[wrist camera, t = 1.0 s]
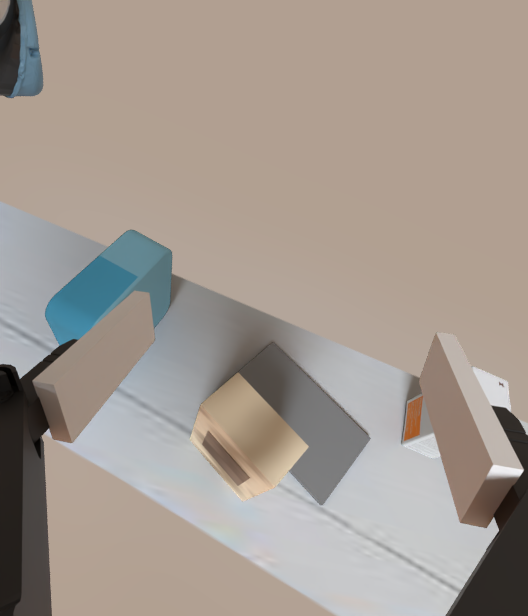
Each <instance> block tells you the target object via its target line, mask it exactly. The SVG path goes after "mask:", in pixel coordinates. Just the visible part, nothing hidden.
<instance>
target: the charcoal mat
mask: <svg viewBox="0 0 528 616" xmlns="http://www.w3.org/2000/svg"><path fill="white" fill-rule="evenodd" d="M237 373H239V374H240V375H241V376H242V377H243V378H244V379H245V380H246V381H247V382H248V383H249V384H250V385H251V386H252V387H253V388H254V389H255V390H256V391H257V393H258V394H259V395H260V396H261V397H262V398H263V399H264V400H265V401H266V402H267V403H268V404H269V405H270V406H271V407H272V408H273V409H274V410H275V411H276V412H277V414H278V415H279V416H280V417H281V418H282V419H283V420H284V421H285V422H286V423H287V424H288V425H289V426H290V427H291V428H292V429H293V430H294V431H295V432H296V433H297V435H298V436H299V437H300V438H301V439H302V440H303V441H304V442H305V443H306V444H307V445H308V446H309V447H308V449H307V450H306V451H305V452H304V453H303V455H302V456H301V457H300V458H299V459H298V461H297V462H296V463H295V464H294V465H293V467H292V468H291V469H290V470H289V472H290V473H291V474H292V475H293V476H294V477H295V478H296V479H297V480H298V481H299V482H300V484H301V485H302V486H303V487H304V488H305V489H306V490H307V491H308V492H309V493H310V494H311V496H312V497H313V498H314V499H315V500H316V501H317V502H318V503H319V504H320V505H323V504H324V503H325V501H326V500H327V498H328V497H329V496H330V494H331V493H332V491H333V490H334V489H335V487H336V486H337V485H338V483H339V482H340V480H341V479H342V478H343V476H344V475H345V473H346V472H347V471H348V469H349V468H350V467H351V465H352V464H353V462H354V461H355V460H356V458H357V457H358V455H359V454H360V453H361V451H362V450H363V448H364V447H365V446H366V444H367V443H368V442H369V440H370V439H371V438H370V437H369V436H368V435H367V434H366V433H365V432H364V431H363V430H362V429H361V428H360V427H359V426H358V425H357V424H356V423H355V422H354V421H353V420H352V419H351V418H350V417H349V416H348V415H347V414H346V413H345V412H344V411H342V410H341V409H340V408H339V407H338V406H337V405H336V404H335V403H334V402H333V401H332V400H331V399H330V398H329V397H328V396H327V395H326V394H325V393H324V392H323V391H322V390H321V389H320V388H319V387H318V386H317V385H316V384H315V383H314V382H313V381H312V380H311V379H310V378H309V377H308V376H307V375H306V374H305V373H304V372H303V371H302V370H301V369H300V368H299V367H298V366H297V365H296V364H295V363H294V362H293V361H292V360H291V359H290V358H289V357H288V356H287V355H286V354H285V353H284V352H283V351H282V350H281V349H280V348H279V347H278V346H277V345H276V344H275V343H274V342H272V343H271V344H270V345H269V346H268V347H266V348H265V349H264V350H263V351H262V352H261V353H259V354H258V355H257V356H256V357H255V358H254V359H252V360H251V361H250V362H249V363H248V364H247V365H245V366H244V367H243V368H242V369H241V370H240V371H238V372H237ZM231 378H232V377H231ZM231 378H230V379H231ZM230 379H229V380H230ZM224 384H225V383H224ZM224 384H223V385H224ZM223 385H222V386H223ZM217 390H218V389H217Z"/></svg>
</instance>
